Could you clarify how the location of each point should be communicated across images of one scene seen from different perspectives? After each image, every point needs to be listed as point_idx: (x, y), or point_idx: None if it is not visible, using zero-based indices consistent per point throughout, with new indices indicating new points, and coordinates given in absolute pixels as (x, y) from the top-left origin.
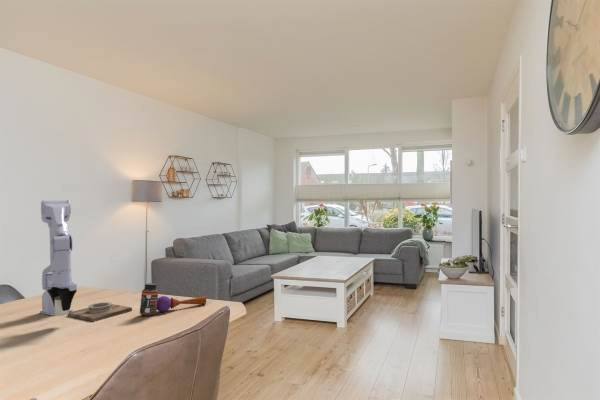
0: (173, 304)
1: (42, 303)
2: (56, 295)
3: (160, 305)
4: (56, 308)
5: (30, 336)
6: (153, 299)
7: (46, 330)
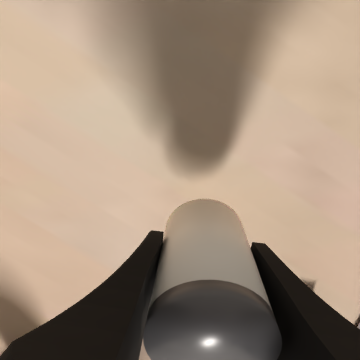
0: None
1: None
2: (294, 355)
3: None
4: (201, 225)
5: (192, 18)
6: None
7: (209, 126)
